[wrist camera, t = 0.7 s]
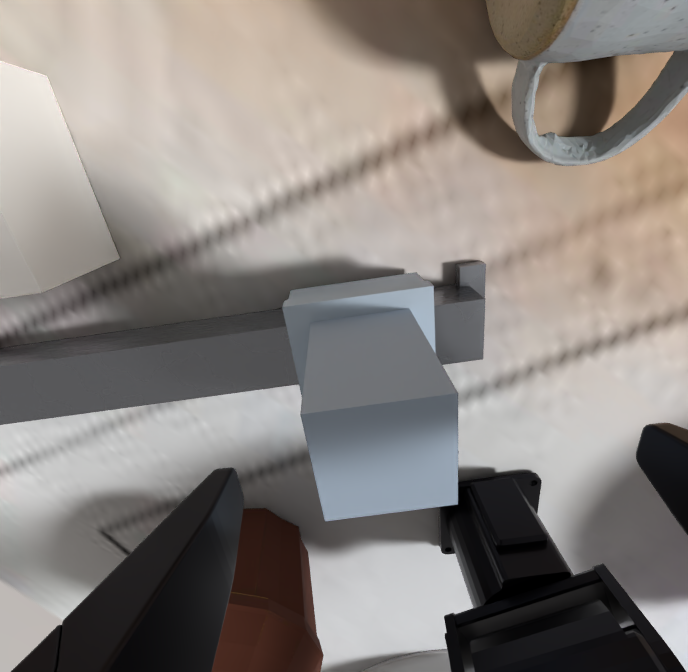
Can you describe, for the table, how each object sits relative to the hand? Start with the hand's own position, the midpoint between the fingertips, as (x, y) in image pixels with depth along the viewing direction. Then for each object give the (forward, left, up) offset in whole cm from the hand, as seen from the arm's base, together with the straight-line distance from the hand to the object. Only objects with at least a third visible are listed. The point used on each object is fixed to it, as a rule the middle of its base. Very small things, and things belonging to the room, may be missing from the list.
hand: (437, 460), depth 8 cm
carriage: (-1, +1, -11) cm, 11 cm away
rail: (-1, +8, -11) cm, 14 cm away
